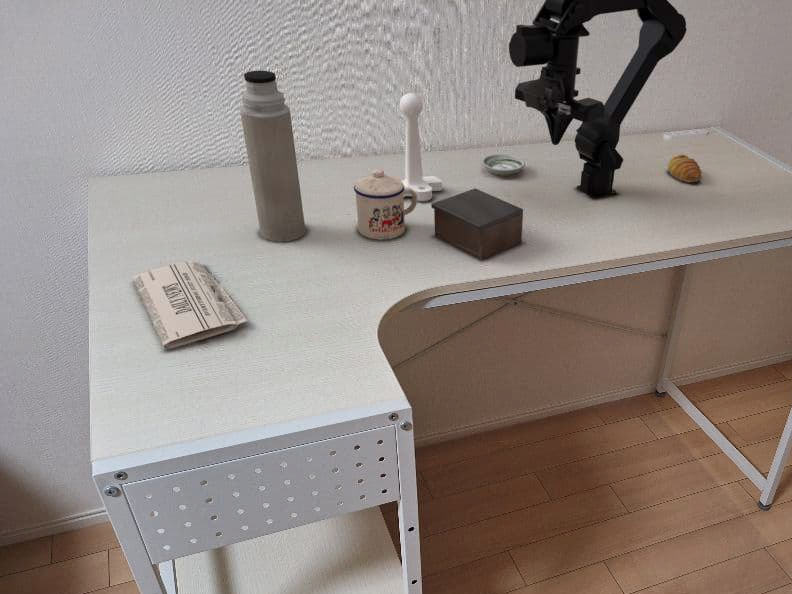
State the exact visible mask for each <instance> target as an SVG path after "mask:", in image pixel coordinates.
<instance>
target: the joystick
mask: <svg viewBox="0 0 792 594" xmlns="http://www.w3.org/2000/svg"><path fill="white" fill-rule="evenodd" d="M423 108H424V104H423V101H422V99H421V97H420V96H419V95H418V94H416V93H413V92H412V93H411V92H409V93H406V94H403V96H402V97H401V98H400V100H399V109H400V111H401V113H402V114H403V115H404V118H405V145H404V147H405V148H404V149H405V151H404V152H405V153H404V155H405V157H404V161H405V162H404V179H402V180H401V179H400V180H401V181H402V183H403V185H404V188H410V189H412V190H414V191H415V192H416V194H417V198H418V200H417V202H421V203H423V202H428V201H430V200H431V199H432V198H433V192H434V191H435V192H441V191H442V190H443V180H441V179H440V178H438V177H437V176H436V175H435V176H434V175H428V176H423V175H424V174H423V164H422V153H421V141H420V131H419V116H420V115H421V114H422V111H423V110H424V109H423ZM403 197H404V198H405V197H412V193H405V194H403Z"/></svg>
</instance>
